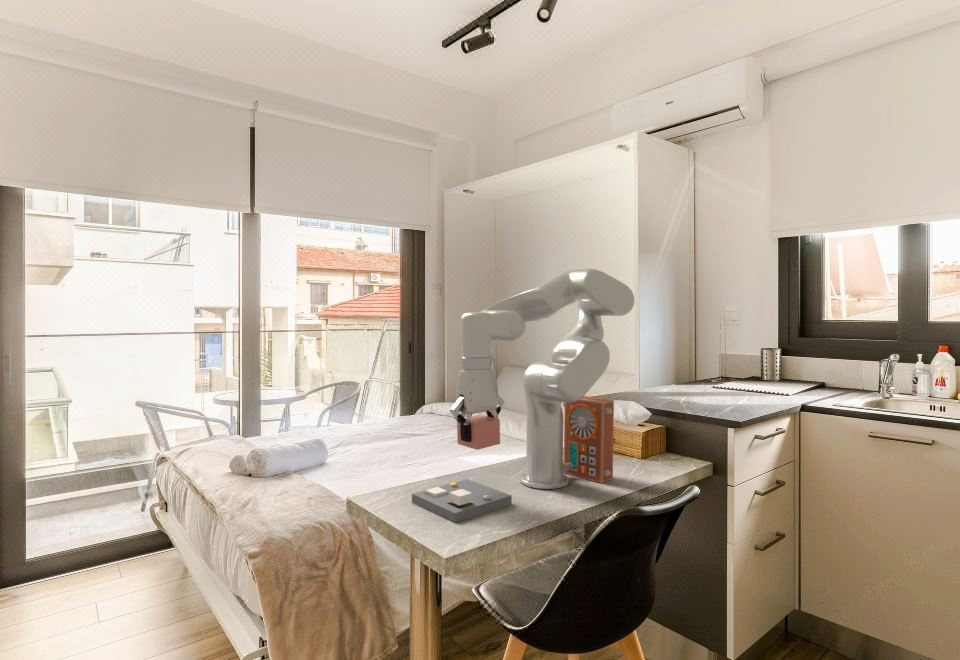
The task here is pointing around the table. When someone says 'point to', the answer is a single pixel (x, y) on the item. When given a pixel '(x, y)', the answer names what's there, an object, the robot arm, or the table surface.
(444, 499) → the board
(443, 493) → the block
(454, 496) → the block
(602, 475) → the control panel
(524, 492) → the table surface
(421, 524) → the table surface
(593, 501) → the table surface
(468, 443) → the cap
